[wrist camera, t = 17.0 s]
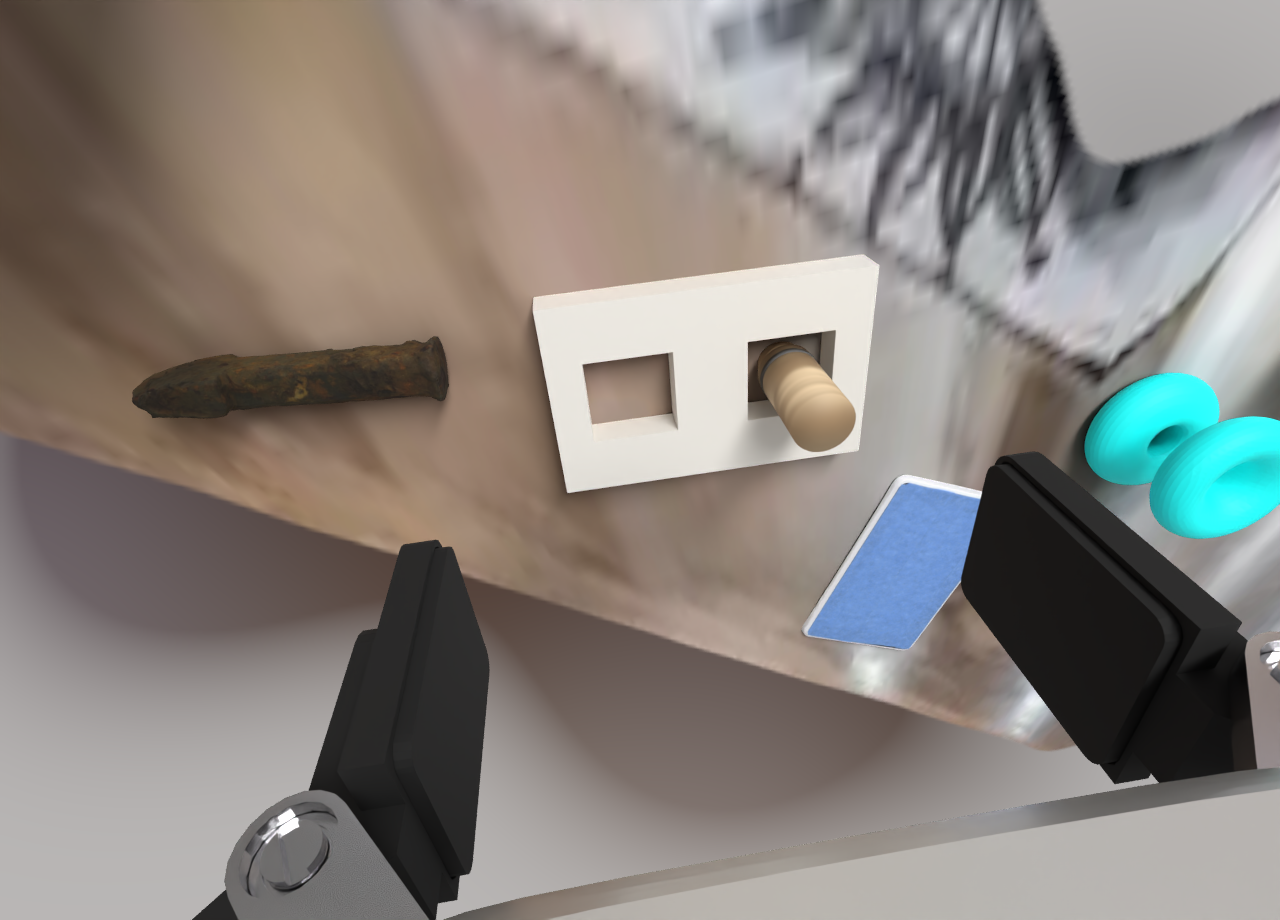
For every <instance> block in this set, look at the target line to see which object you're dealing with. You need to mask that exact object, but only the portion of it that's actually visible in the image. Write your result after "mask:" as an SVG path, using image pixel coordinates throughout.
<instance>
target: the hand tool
mask: <svg viewBox="0 0 1280 920" xmlns="http://www.w3.org/2000/svg"><path fill="white" fill-rule="evenodd" d="M448 387H449V384H448V372H447V363H446V358H445V353H444V350H443V347H442V344H441V342H440V340H439V338H438V337H432V338H430V339H429V340H428V341H427V342H426V343H421V342H418V341H416V340H412V341H406V342H405V343H404V344H402V345H391V346H367V347H365V346H362V347H357V348H353V349H345V350H333V349H327V350H324V351H314V352H303V353H292V354H278V355H267V356H251V357H237V356H235V355H233V354H229V355H221V356H214V357H209V358H204V359H199V360H195V361H193V362H190V363H186V364H182V365H179V366H176V367H173V368H170V369H167V370H165V371H162V372H160V373H157V374H154V375H152V376H150V377H149V378H147V379H146V380H144V381H143V382H142V383H141V384H140V385H139V386H138V387H137V388H135V389H134V390H133V392H132V393H133V397H132V402H133V404H135V405H136V406H137V407H138V408H141V409H143V410H145V411H147V412H148V413H149V414H151V415H152V418H158V417H162V418H165V417H167V418H168V417H169V418H179V417H187V418H217V417H222V416H225V415H227V414H228V413H229V412H230V411H231V410H238V409H241V410H245V409H251V408H259V407H269V406H291V405H307V404H325V403H340V402H349V401H365V400H379V399H389V398H401V397H409V396H430V397H432V398H434V399H437V400H439V401H442V400H444V399H445V397H446V393H447V389H448Z"/></svg>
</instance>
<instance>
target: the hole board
mask: <svg viewBox="0 0 1280 920" xmlns="http://www.w3.org/2000/svg"><path fill="white" fill-rule="evenodd" d="M878 273H879V265H878V264H877V263H875V262H874V261H872V260H871V259H869V258H868V257H866V256H865V255H864V254H862V255H855V256H847V257H839V258H832V259H824V260H816V261H808V262H801V263H793V264H785V265H778V266H770V267H762V268H755V269H747V270H739V271H731V272H724V273H716V274H708V275H701V276H693V277H685V278H678V279H670V280H662V281H655V282H647V283H639V284H631V285H624V286H616V287H608V288H601V289H593V290H585V291H578V292H570V293H562V294H555V295H547V296H539V297H533V315H534V320H535V325H536V331H537V336H538V341H539V346H540V352H541V357H542V362H543V367H544V373H545V378H546V383H547V388H548V394H549V399H550V404H551V410H552V415H553V420H554V425H555V431H556V436H557V441H558V446H559V452H560V457H561V462H562V467H563V473H564V478H565V483H566V488H567V493H571V492H578V491H585V490H592V489H599V488H605V487H612V486H619V485H626V484H633V483H640V482H647V481H653V480H660V479H667V478H674V477H681V476H688V475H695V474H702V473H708V472H715V471H722V470H729V469H736V468H743V467H750V466H756V465H763V464H770V463H777V462H784V461H791V460H798V459H805V458H811V457H818V456H825V455H832V454H839V453H846V452H853V451H859V443H860V434H861V425H862V416H863V407H864V398H865V389H866V380H867V372H868V363H869V354H870V345H871V336H872V327H873V318H874V309H875V300H876V291H877V282H878ZM817 332H822V337H821V352H820V366H821V368H822V369H823V370H824V371H825V372H826V374H827V375H828V376H829V377H830V378H831V380H832V381H833V382H834V383H835V384H836V386H837V387H838V388H839V389H840V390H841V392H842V393H843V394H844V395H845V396H846V398H847V399H848V400H849V401H850V402H851V404H852V405H853V407H854V409H855V413H856V421H855V425H854V428H853V430H852V432H851V433H850V435H849V436H848V437H847V438H846V440H845V441H843V442H842V443H841V444H840V445H838V446H836V447H835V448H832V449H830V450H827V451H823V452H810V451H807V450H804V449H802V448H801V447H799V446H798V445H797V444H796V443H795V441H794V440H793V438H792V436H791V435H790V433H789V431H788V430H787V428H786V427H785V425H784V423H783V422H782V420H781V418H780V417H779V415H778V414H777V412H776V410H775V409H774V407H773V405H772V404H771V402H770V400H763V401H756V402H749V403H748V342H751V341H758V340H766V339H773V338H781V337H788V336H795V335H803V334H810V333H817ZM663 353H668V357H669V371H670V384H671V398H672V412H673V413H671V414H664V415H657V416H649V417H642V418H635V419H628V420H621V421H614V422H607V423H600V424H593V425H592V421H591V415H590V408H589V402H588V395H587V389H586V382H585V376H584V369H583V364H589V363H596V362H604V361H611V360H618V359H626V358H633V357H641V356H648V355H655V354H663Z"/></svg>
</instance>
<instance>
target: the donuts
mask: <svg viewBox="0 0 1280 920" xmlns="http://www.w3.org/2000/svg"><path fill="white" fill-rule="evenodd" d="M1218 419H1219V403H1218V399H1217V397H1216V395H1215V393H1214V391H1213V390H1212V388H1211V387H1210V386H1209V385H1208V384H1206V383H1205V382H1204V381H1203V380H1201V379H1199V378H1197V377H1195V376H1192V375H1188V374H1183V373H1164V374H1157V375H1153V376H1150V377H1147V378H1144V379H1142V380H1139V381H1137V382H1135V383H1133V384H1131V385H1129V386H1128V387H1126V388H1124V389H1123V390H1121V391H1120V392H1118V393H1117V394H1116V395H1115V396H1113V397H1112V398H1111V399H1110V400H1109V401H1108V402H1107V403H1106V404H1105V405H1104V406H1103V407H1102V408H1101V409H1100V411H1099V412H1098V413H1097V414H1096V416H1095V417H1094V419H1093V421H1092V423H1091V425H1090V427H1089V429H1088V432H1087V435H1086V439H1085V447H1084V448H1085V456H1086V459H1087V462H1088V464H1089V466H1090V467H1091V469H1092V470H1093V471H1094V472H1095V473H1096V474H1097V475H1099V476H1100V477H1101V478H1103V479H1105V480H1107V481H1109V482H1112V483H1116V484H1121V485H1141V484H1146V483H1150V482H1152V484H1151V488H1150V495H1149V496H1150V507H1151V510H1152V513H1153V515H1154V517H1155V518H1156V520H1157V521H1158V522H1159V523H1160V524H1161V525H1162V526H1163V527H1164V528H1165V529H1167V530H1168V531H1170V532H1172V533H1174V534H1176V535H1179V536H1182V537H1187V538H1194V539H1204V538H1214V537H1220V536H1224V535H1227V534H1231V533H1233V532H1236V531H1238V530H1241V529H1243V528H1245V527H1247V526H1249V525H1251V524H1253V523H1255V522H1256V521H1258V520H1259V519H1261V518H1263V517H1264V516H1265V515H1267V514H1268V513H1270V512H1271V511H1272V510H1273V509H1274V508H1276V507H1277V506H1278V505H1279V504H1280V421H1278V420H1275V419H1271V418H1267V417H1256V416H1249V417H1240V418H1233V419H1229V420H1225V421H1222V422H1219V423H1218ZM1159 432H1160V433H1159ZM1158 433H1159V434H1158ZM1157 434H1158V435H1157ZM1155 435H1157V436H1156V437H1154V436H1155Z"/></svg>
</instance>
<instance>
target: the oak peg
mask: <svg viewBox="0 0 1280 920" xmlns="http://www.w3.org/2000/svg"><path fill="white" fill-rule="evenodd" d="M758 381H759V384H760V386H761V388H762V390H763V392H764V394H765V395H766V397H767V398H768V399H769V400H770V402H771V404H772V405H773V407H774V409H775V410H776V412H777V414H778V415H779V417H780V418H781V420H782V422H783V423H784V425H785V427H786V428H787V430H788V431H789V433H790V435H791V436H792V438H793V440H794V441H795V443H796V444H797V445H798V446H799V447H801V448H802V449H804V450H807V451H810V452H823V451H827V450H830V449H832V448H835V447H836V446H838V445H840V444H841V443H842V442H843V441H845V440H846V438H847V437H848V436H849V435H850V433H851V432H852V430H853V428H854V425H855V421H856V413H855V409H854V407H853V405H852V404H851V402H850V401H849V400H848V399H847V398H846V396H845V395H844V394H843V393H842V392H841V390H840V389H839V388H838V387H837V386H836V384H835V383H834V382H833V381H832V380H831V378H830V377H829V376H828V375H827V374H826V372H825V371H824V370H823V369H822V368H821V366H820V365H819V364H818V362H817V360H816V359H815V358H814V357H813V356H812V355H811V354H810V353H809V352H808V351H807V350H806V349H805V348H803V347H801V346H798V345H794V344H792V343H790V342H786V341H781V342H776V343H773V344H771V345H769V346H768V347H767V348H766V349H764V351H763V352H762V353H761V355H760V357H759V359H758Z"/></svg>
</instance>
